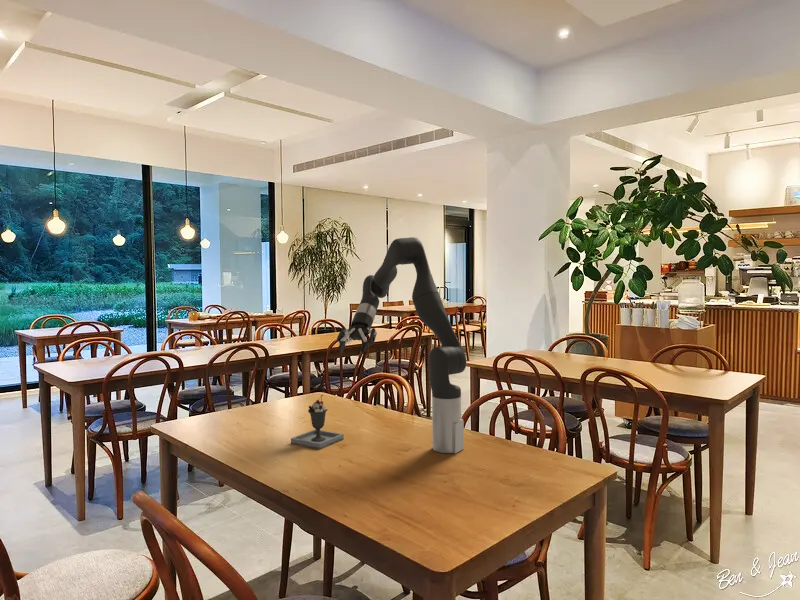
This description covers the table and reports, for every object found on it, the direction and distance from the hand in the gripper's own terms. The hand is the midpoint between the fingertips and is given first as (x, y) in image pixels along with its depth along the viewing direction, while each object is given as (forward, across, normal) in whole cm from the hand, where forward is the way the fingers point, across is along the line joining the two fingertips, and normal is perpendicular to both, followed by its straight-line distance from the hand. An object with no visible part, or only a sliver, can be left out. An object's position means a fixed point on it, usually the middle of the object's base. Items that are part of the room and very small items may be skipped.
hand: (350, 351), depth 196 cm
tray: (+32, -5, +9) cm, 33 cm away
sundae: (+31, -5, +9) cm, 33 cm away
